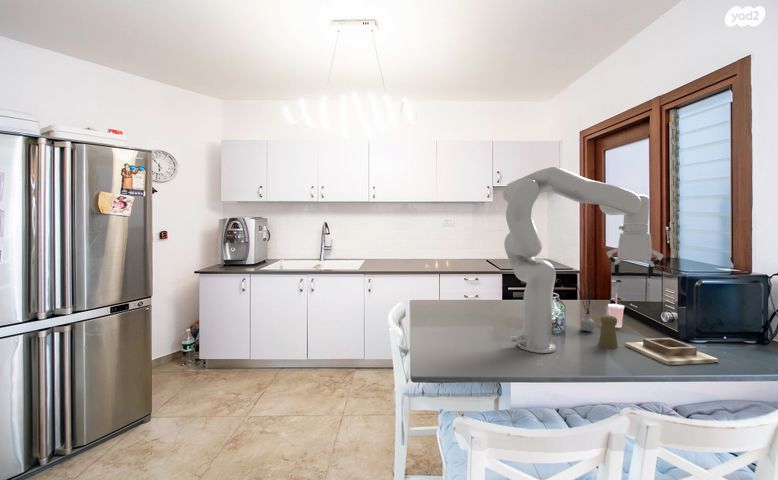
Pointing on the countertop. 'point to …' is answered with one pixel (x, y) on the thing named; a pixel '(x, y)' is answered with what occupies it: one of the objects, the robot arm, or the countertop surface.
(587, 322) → the reed diffuser
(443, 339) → the countertop surface
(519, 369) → the countertop surface
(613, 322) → the cork
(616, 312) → the beverage cup
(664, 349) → the socket board
